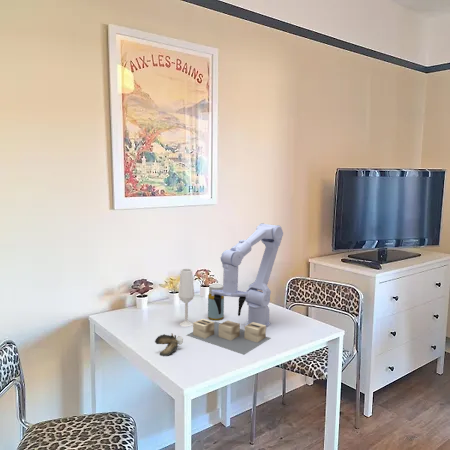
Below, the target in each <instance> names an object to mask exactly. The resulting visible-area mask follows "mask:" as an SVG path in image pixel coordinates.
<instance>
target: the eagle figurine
mask: <svg viewBox="0 0 450 450" xmlns="http://www.w3.org/2000/svg"><path fill="white" fill-rule="evenodd" d="M183 342H184V338H183V337H182V336H180V335H178V336H177V335H175V334H173V333H171V335H169V334H160V335H158V336H157V337H156V338H155V340H154V343H155V344H156V345H165V348H164V349H163V350H161V351H160V352H159V356H161V357H164V356H165V357H167V356H170V355H172V353H173V352H175V351H176V350H177V349H178V347H179V346H180V345H182V344H183Z"/></svg>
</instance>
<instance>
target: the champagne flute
mask: <svg viewBox="0 0 450 450" xmlns="http://www.w3.org/2000/svg"><path fill="white" fill-rule="evenodd" d="M179 274H180V276H179V285H178V286H179V288H178V299H180V301H181V302H182V303H184V320H183V321H181V322H180V323H179V326H180V327H184V328H185V327H191V326H193V323H194V322H191V321H189V320H188V318H189V315H188V313H189V306H188V305H189V303H190V302H192V300H194V297H195V286H194V277H193V274H194V273H193V269H191V268H182V269H180V273H179Z"/></svg>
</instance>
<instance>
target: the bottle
mask: <svg viewBox="0 0 450 450" xmlns="http://www.w3.org/2000/svg"><path fill="white" fill-rule="evenodd" d="M212 290H223V284H219V283H213V284H209V286H208V291H209V292H208V295H207V318H208V320H209V321H222V320H223V319H224V318H225V316H224V312H225V311H224V310H225V309H224V308H225V296H222V298H221V314H219V312H218V308H217V305H216V302H215V300H214V296H211V295H212Z"/></svg>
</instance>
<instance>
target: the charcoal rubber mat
mask: <svg viewBox="0 0 450 450" xmlns="http://www.w3.org/2000/svg"><path fill="white" fill-rule="evenodd" d="M213 322H214V334H213V335H211V336H209V337H207V338H205V339H204V338H201V337H198V336H195V335H193V331H192V332H189V333H187V334H186V337H190V338H192V339H197V340H199V341H202V342H205V343H208V344H211V345H214V346H217V347H219V348H223V349H226V350H229V351H231V352H235V353H238V354H241V355H246V354H248V353H250V352H251V351H253V350H254V349H256V348H257V347H259V346H261V345H262V344H264V343H266V342H267V341H269V340H270V339H272V338H271V337H269V336H266V338H264V339H262V340H261V341H259V342H254V341H251V340H248V339H244V337H245V329H241V328H240V336H238V337H236V338H235V339H233V340H227V339H224V338H221V337H219V324H221V323H222V322H217V321H213Z"/></svg>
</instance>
